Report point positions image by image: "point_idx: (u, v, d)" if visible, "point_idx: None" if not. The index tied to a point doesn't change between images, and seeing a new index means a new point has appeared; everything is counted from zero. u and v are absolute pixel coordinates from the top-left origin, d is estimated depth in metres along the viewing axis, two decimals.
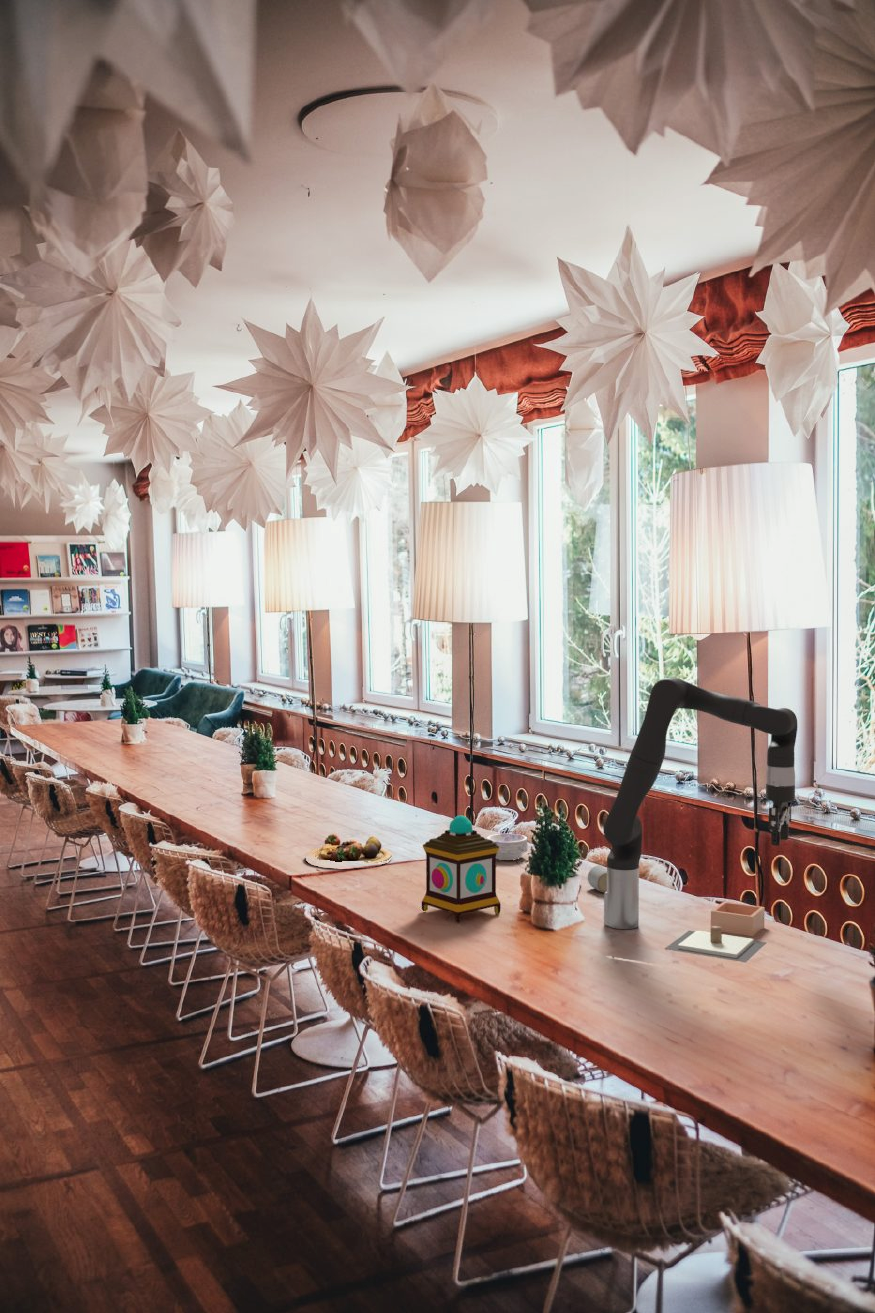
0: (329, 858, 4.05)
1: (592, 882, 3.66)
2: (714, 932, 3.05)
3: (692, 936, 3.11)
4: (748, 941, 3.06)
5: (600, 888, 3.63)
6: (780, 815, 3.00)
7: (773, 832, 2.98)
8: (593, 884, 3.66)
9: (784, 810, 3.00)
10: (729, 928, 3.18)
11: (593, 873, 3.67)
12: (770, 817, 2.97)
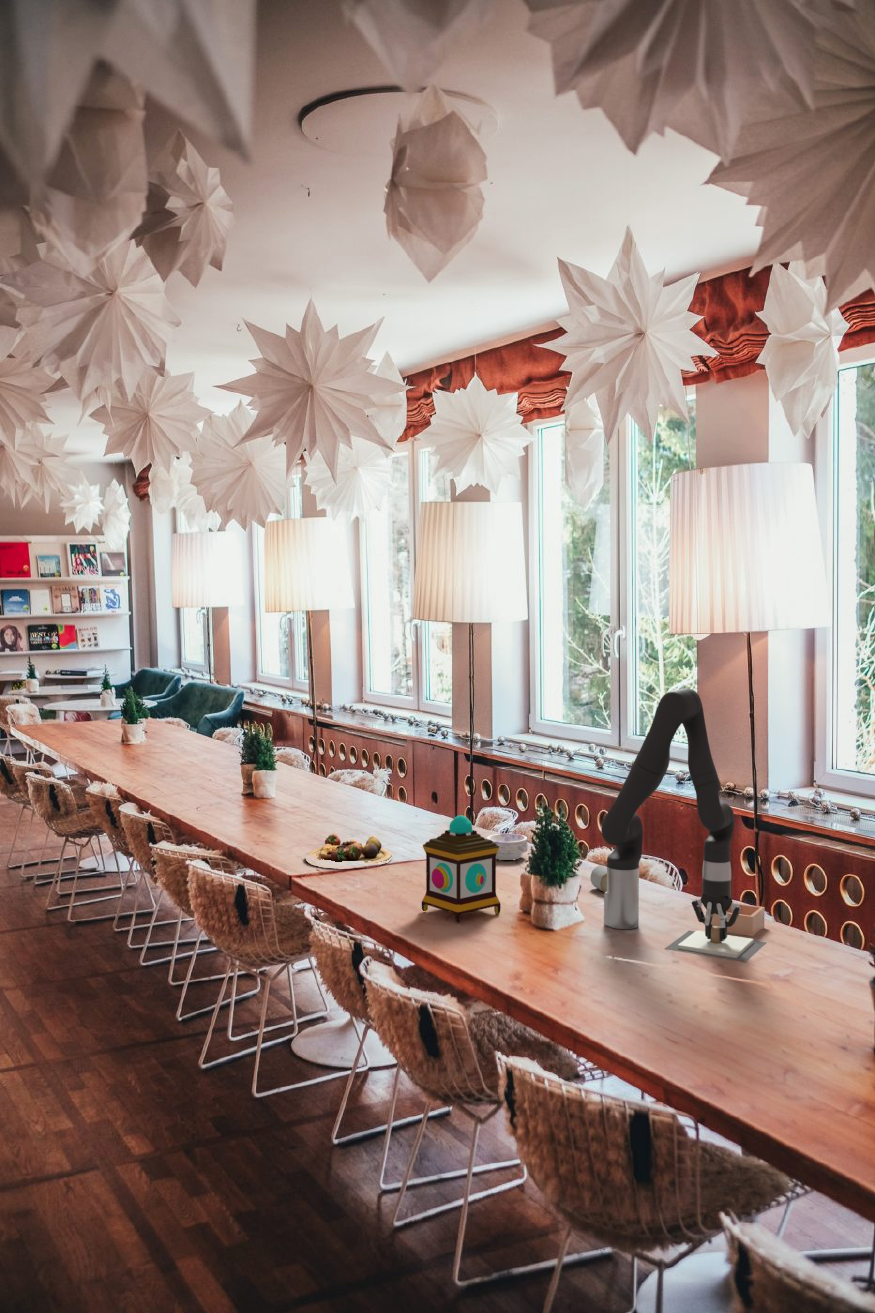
0: (329, 858, 4.05)
1: (595, 882, 3.66)
2: (714, 932, 3.05)
3: (692, 936, 3.11)
4: (748, 941, 3.06)
5: (603, 888, 3.63)
6: None
7: (726, 928, 3.04)
8: (596, 884, 3.66)
9: None
10: (729, 928, 3.18)
11: (596, 873, 3.67)
12: (736, 916, 3.02)
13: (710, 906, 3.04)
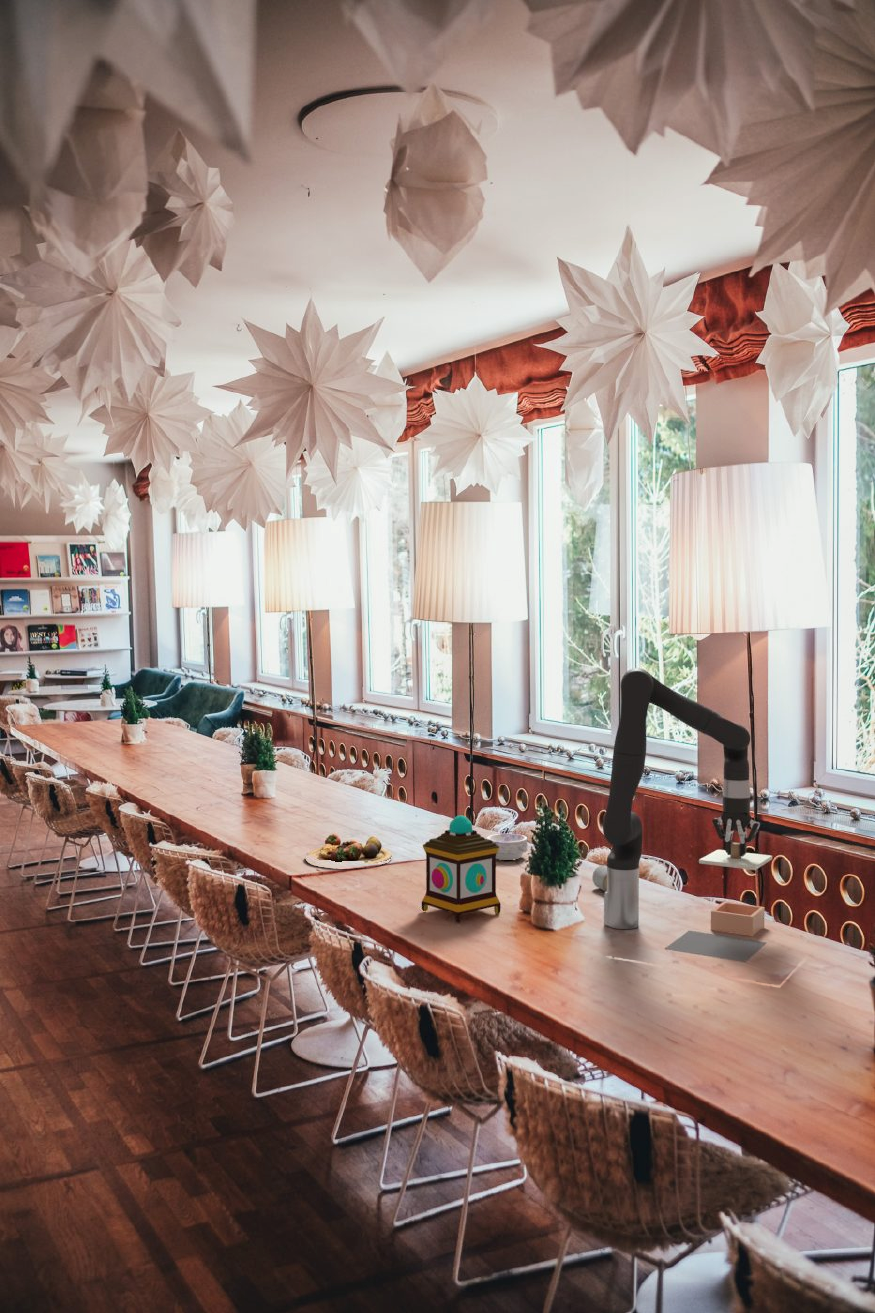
0: (329, 858, 4.05)
1: (597, 882, 3.67)
2: (733, 847, 3.18)
3: (713, 853, 3.24)
4: (767, 857, 3.19)
5: (605, 888, 3.63)
6: None
7: (745, 844, 3.17)
8: (598, 884, 3.66)
9: None
10: (729, 928, 3.18)
11: (598, 873, 3.67)
12: (755, 832, 3.15)
13: (730, 823, 3.18)
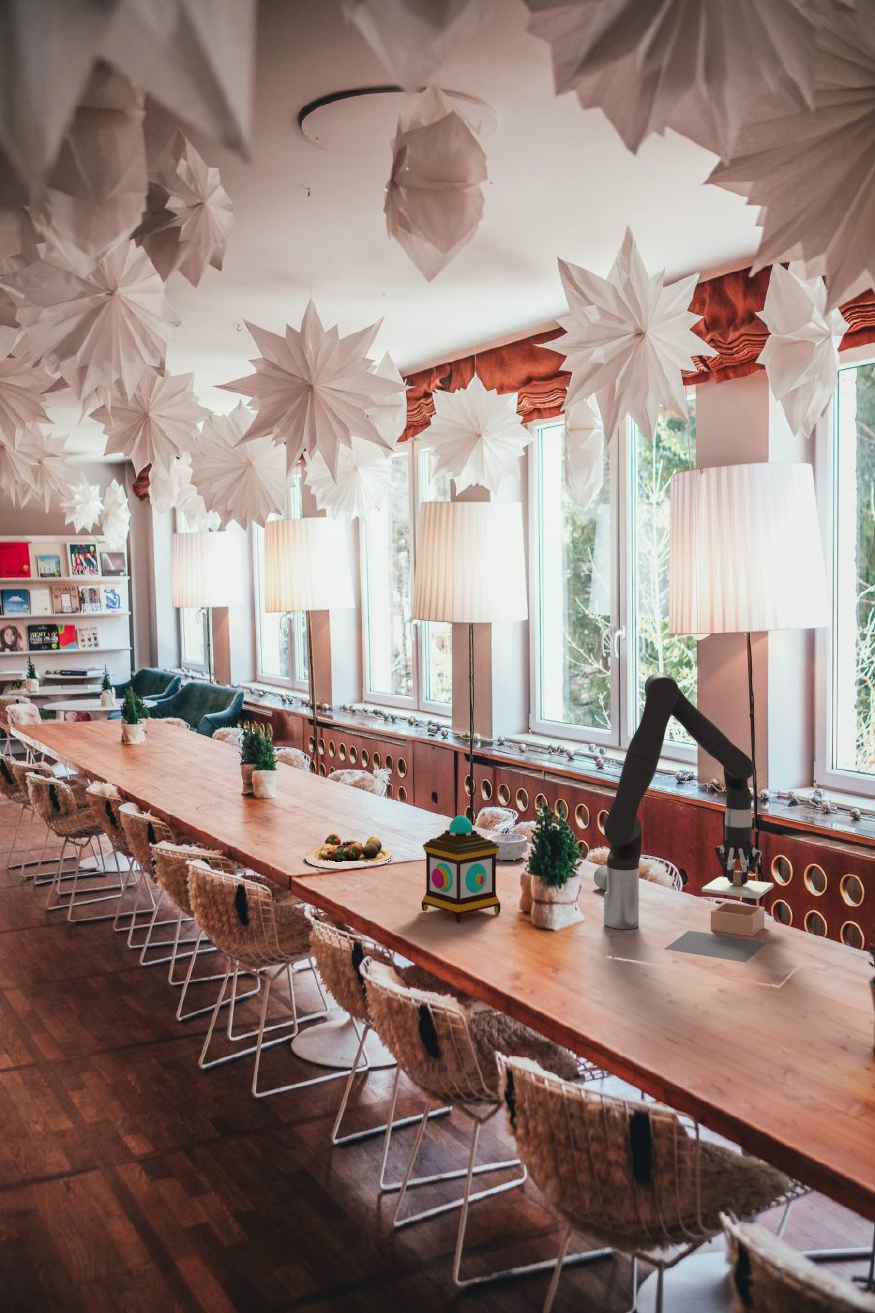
0: (329, 858, 4.05)
1: (598, 882, 3.67)
2: (736, 876, 3.21)
3: (715, 881, 3.27)
4: (768, 885, 3.23)
5: (606, 888, 3.63)
6: None
7: (747, 872, 3.20)
8: (599, 884, 3.66)
9: None
10: (729, 928, 3.18)
11: (599, 873, 3.67)
12: (757, 860, 3.18)
13: (732, 851, 3.21)
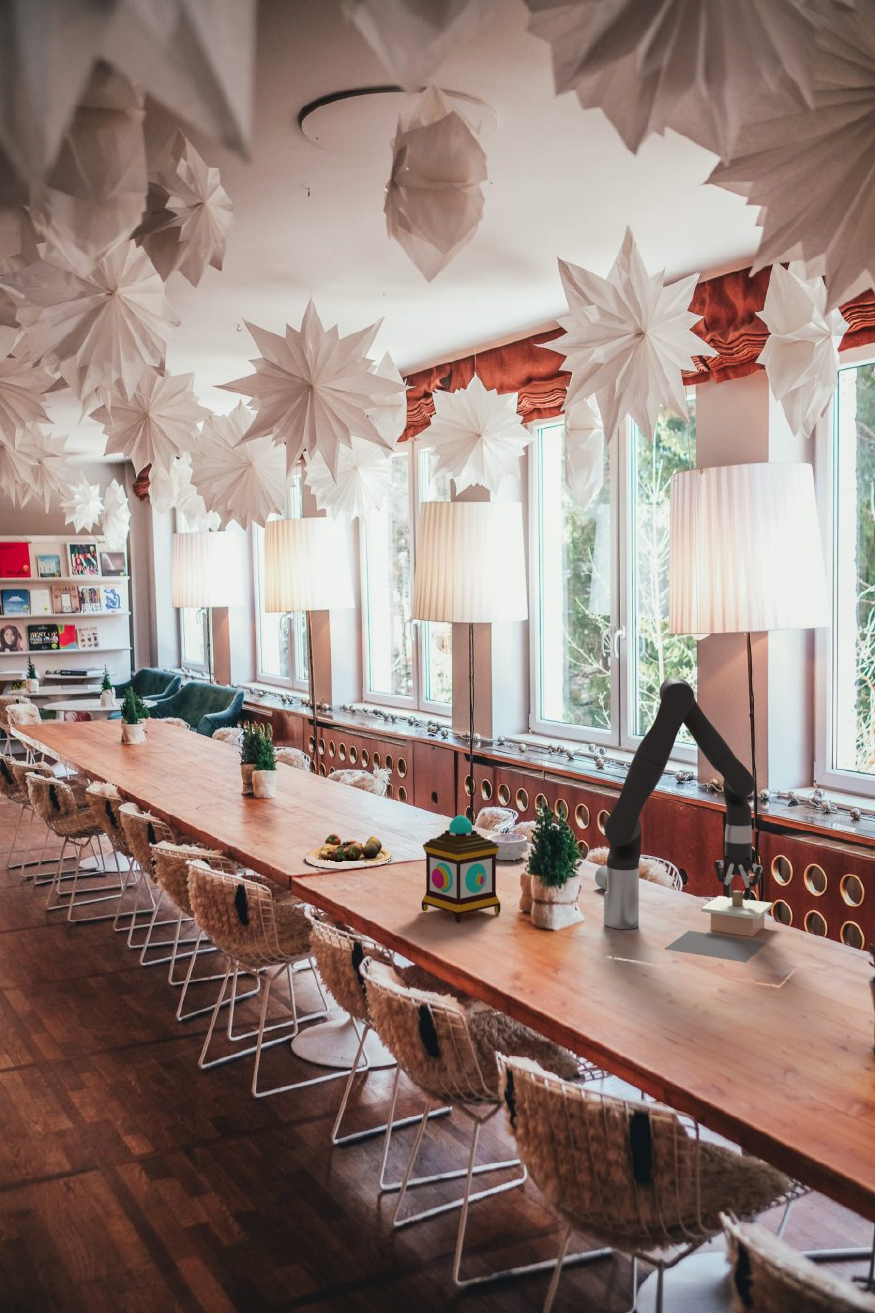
0: (329, 858, 4.05)
1: (599, 882, 3.67)
2: (735, 896, 3.21)
3: (714, 901, 3.28)
4: (768, 905, 3.23)
5: None
6: None
7: (750, 888, 3.20)
8: (600, 884, 3.66)
9: None
10: (729, 928, 3.18)
11: (600, 873, 3.67)
12: (758, 875, 3.18)
13: (732, 867, 3.21)
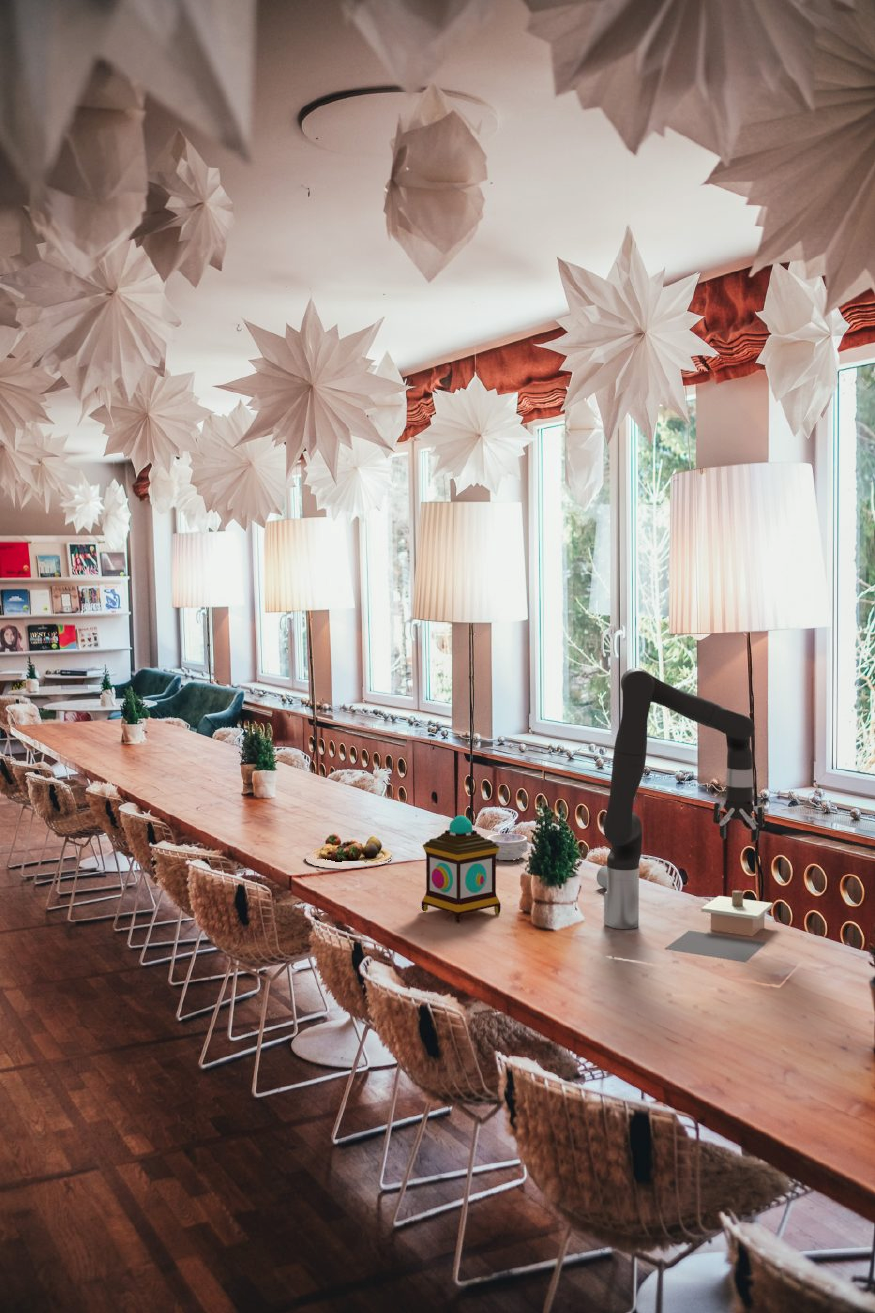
0: (329, 858, 4.05)
1: (601, 881, 3.67)
2: (735, 896, 3.21)
3: (714, 901, 3.28)
4: (768, 905, 3.23)
5: None
6: None
7: (757, 830, 3.19)
8: (602, 883, 3.67)
9: None
10: (729, 928, 3.18)
11: (602, 872, 3.67)
12: (762, 815, 3.17)
13: (732, 812, 3.21)
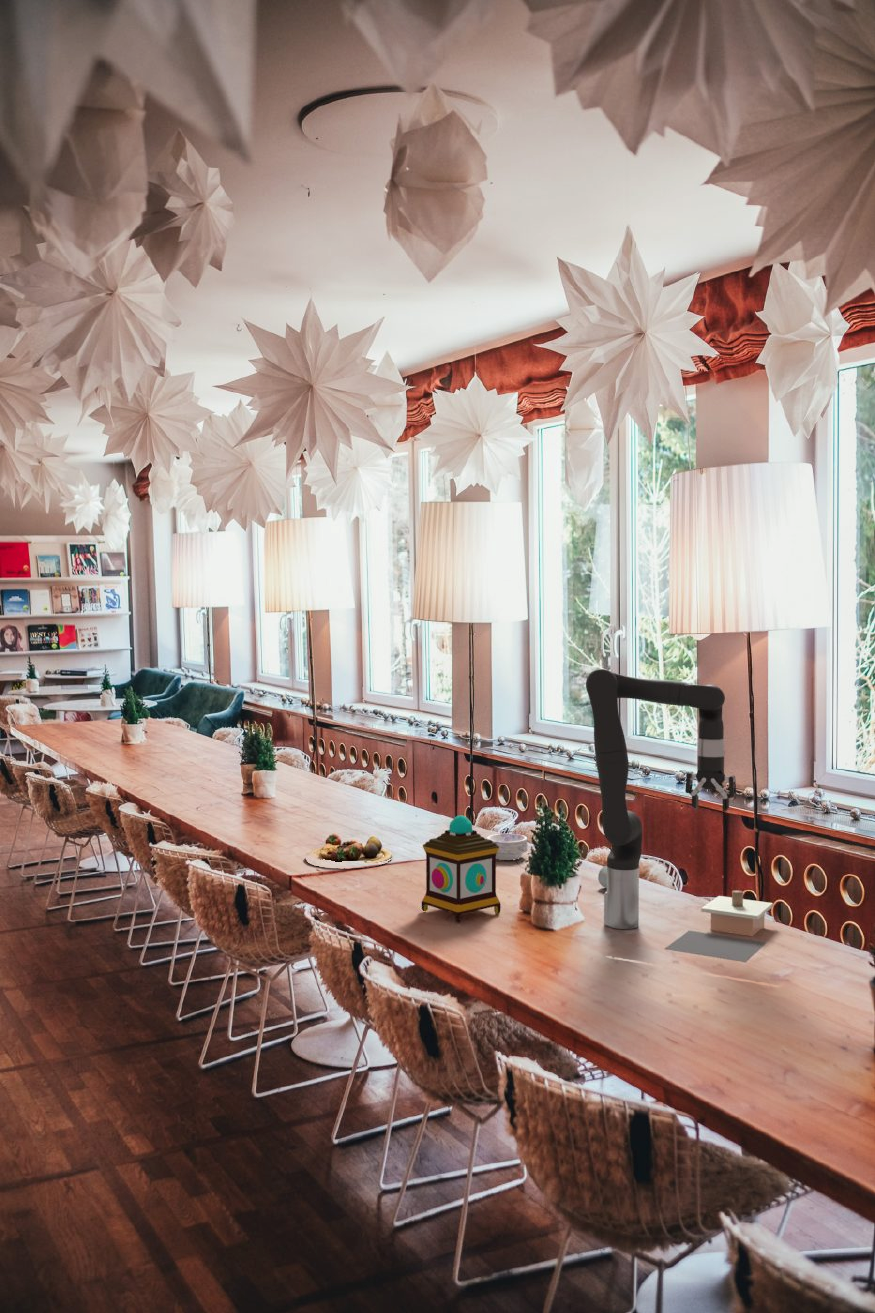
0: (329, 858, 4.06)
1: (603, 881, 3.67)
2: (735, 896, 3.21)
3: (714, 901, 3.28)
4: (768, 905, 3.23)
5: None
6: None
7: (728, 799, 3.22)
8: (604, 883, 3.67)
9: None
10: (729, 928, 3.18)
11: (604, 872, 3.68)
12: (733, 785, 3.20)
13: (703, 781, 3.24)
